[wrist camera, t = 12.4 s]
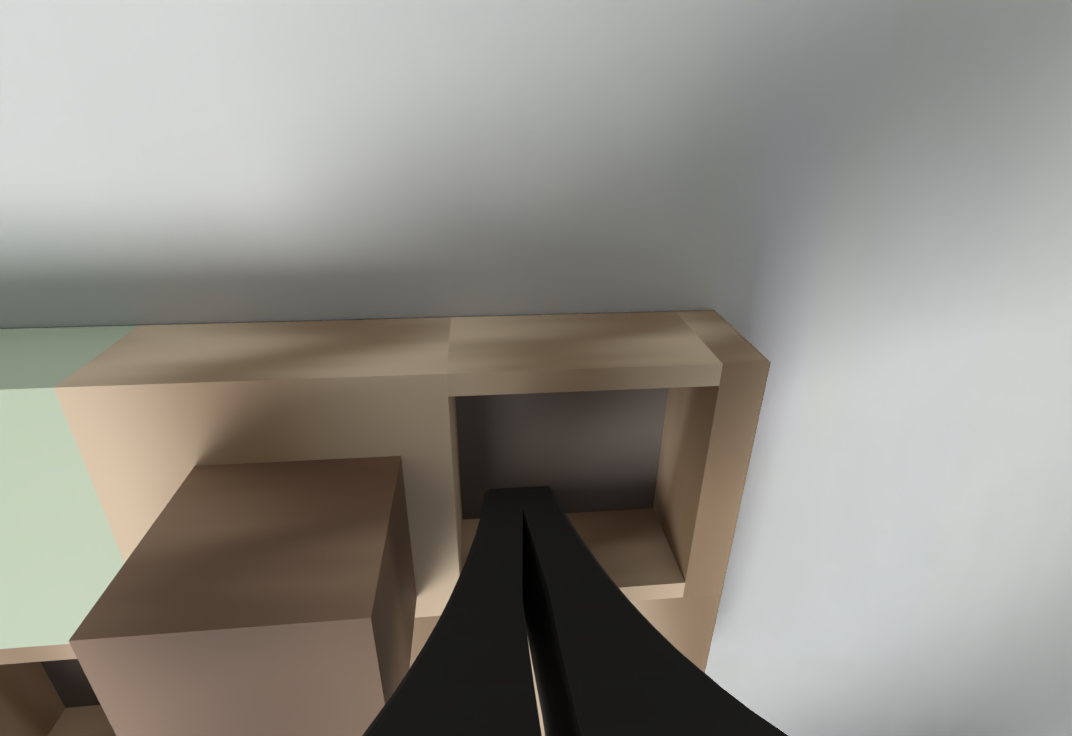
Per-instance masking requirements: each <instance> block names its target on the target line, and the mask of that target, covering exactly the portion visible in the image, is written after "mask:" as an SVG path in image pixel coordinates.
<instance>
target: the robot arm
mask: <svg viewBox="0 0 1072 736" xmlns="http://www.w3.org/2000/svg"><path fill="white" fill-rule="evenodd" d="M528 643H529V645H528ZM529 648H530V652H529ZM530 653H531V659H532V664H533V669H534V675H535V680H536V686H537V691H538V696H539V702H540V707H541V712H542V718H543V725H544V732H545V736H788V735H786V734H785V733H783V732H782V731H780V730H779V729H778V728H776V727H775V726H773V725H772V724H770V723H769V722H767V721H766V720H764V719H763V718H761V717H760V716H758V715H757V714H755V713H754V712H753V711H751V710H750V709H749V708H747V707H746V706H745V705H743V704H742V703H741V702H739V701H738V700H737V699H736V698H734V697H733V696H732V695H730V694H729V693H728V692H727V691H725V690H724V689H723V688H721V687H720V686H719V685H718V684H717V683H716V682H714V681H713V680H712V679H711V678H710V677H709V676H707V675H706V674H705V673H704V672H703V671H702V670H701V669H699V668H698V667H697V666H696V665H695V664H694V663H692V662H691V661H690V660H689V659H688V658H687V657H685V656H684V655H683V654H682V653H681V652H680V651H679V650H677V649H676V648H675V647H674V646H673V645H672V644H671V643H670V642H669V641H668V640H667V639H666V638H665V637H664V636H663V635H662V634H661V633H660V632H659V631H658V630H657V629H656V628H655V627H654V626H653V625H652V624H651V623H650V622H649V621H648V620H647V619H646V618H645V617H644V616H643V615H642V614H641V613H640V612H639V610H638V609H637V608H636V607H635V606H634V605H633V604H632V603H631V602H630V600H629V599H628V598H627V597H626V596H625V595H624V594H623V592H622V591H621V590H620V589H619V588H618V586H617V585H616V584H615V583H614V581H613V580H612V579H611V578H610V577H609V575H608V574H607V573H606V571H605V570H604V569H603V568H602V566H601V565H600V564H599V562H598V561H597V560H596V558H595V557H594V555H593V554H592V553H591V551H590V550H589V548H588V547H587V546H586V544H585V543H584V541H583V540H582V539H581V537H580V536H579V534H578V533H577V531H576V529H575V528H574V526H573V525H572V523H571V521H570V520H569V518H568V517H567V515H566V513H565V512H564V510H563V508H562V506H561V505H560V503H559V501H558V499H557V497H556V495H555V493H554V491H553V490H552V489H551V488H550V487H549V486H536V487H517V488H498V489H489V490H487V491H486V492H485V493H484V499H483V507H482V512H481V517H480V520H479V524H478V527H477V531H476V534H475V537H474V540H473V543H472V546H471V548H470V551H469V554H468V557H467V559H466V562H465V564H464V567H463V569H462V572H461V574H460V576H459V578H458V580H457V583H456V585H455V587H454V589H453V592H452V594H451V596H450V598H449V600H448V602H447V604H446V606H445V608H444V610H443V612H442V614H441V616H440V618H439V620H438V622H437V624H436V625H435V627H434V629H433V631H432V633H431V634H430V636H429V638H428V640H427V641H426V643H425V645H424V646H423V648H422V650H421V651H420V653H419V655H418V656H417V658H416V659H415V661H414V663H413V664H412V666H411V667H410V669H409V671H408V672H407V674H406V675H405V677H404V678H403V680H402V681H401V683H400V684H399V686H398V687H397V689H396V690H395V692H394V693H393V694H392V696H391V697H390V699H389V700H388V701H387V703H386V704H385V705H384V707H383V708H382V709H381V711H380V712H379V714H378V715H377V716H376V718H375V719H374V720H373V722H372V723H371V724H370V726H369V727H368V728H367V730H366V731H365V733H364V734H363V735H362V736H542V734H541V728H540V721H539V715H538V708H537V701H536V695H535V688H534V681H533V674H532V667H531V659H530Z"/></svg>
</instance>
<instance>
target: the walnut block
mask: <svg viewBox="0 0 1072 736" xmlns="http://www.w3.org/2000/svg"><path fill="white" fill-rule="evenodd" d="M416 600H417V594H416V586H415V577H414V568H413V559H412V550H411V541H410V532H409V523H408V514H407V505H406V496H405V487H404V478H403V470H402V461H401V456H386V457H365V458H345V459H325V460H305V461H285V462H265V463H245V464H224V465H204V466H194V468H193V469H192V470H191V472H190V473H189V475H188V476H187V477H186V479H185V480H184V481H183V483H182V484H181V486H180V487H179V488H178V490H177V491H176V493H175V494H174V495H173V497H172V498H171V499H170V501H169V502H168V504H167V505H166V506H165V508H164V509H163V511H162V512H161V513H160V515H159V516H158V518H157V519H156V520H155V522H154V523H153V524H152V526H151V527H150V529H149V530H148V531H147V533H146V534H145V536H144V537H143V538H142V540H141V541H140V542H139V544H138V545H137V547H136V548H135V549H134V551H133V552H132V554H131V555H130V556H129V558H128V559H127V560H126V562H125V563H124V565H123V566H122V567H121V569H120V570H119V572H118V573H117V574H116V576H115V577H114V578H113V580H112V581H111V583H110V584H109V585H108V587H107V588H106V590H105V591H104V592H103V594H102V595H101V597H100V598H99V599H98V601H97V602H96V603H95V605H94V606H93V608H92V609H91V610H90V612H89V613H88V615H87V616H86V617H85V619H84V620H83V621H82V623H81V624H80V626H79V627H78V628H77V630H76V631H75V633H74V634H73V635H72V637H71V638H70V639H69V643H70V645H71V647H72V649H73V651H74V653H75V655H76V657H77V659H78V661H79V663H80V665H81V667H82V669H83V671H84V673H85V675H86V677H87V679H88V681H89V683H90V685H91V687H92V689H93V691H94V693H95V694H96V696H97V698H98V700H99V702H100V704H101V706H102V708H103V710H104V712H105V714H106V716H107V718H108V720H109V722H110V724H111V726H112V728H113V730H114V732H115V734H116V736H362V735H363V734H364V733H365V731H366V730H367V728H368V727H369V726H370V724H371V723H372V722H373V720H374V719H375V718H376V716H377V715H378V714H379V712H380V711H381V709H382V708H383V707H384V705H385V704H386V703H387V701H388V700H389V699H390V697H391V696H392V694H393V693H394V692H395V690H396V689H397V687H398V686H399V684H400V683H401V681H402V680H403V678H404V677H405V675H406V674H407V672H408V671H409V668H410V658H411V648H412V639H413V629H414V620H415V610H416Z"/></svg>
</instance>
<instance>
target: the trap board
mask: <svg viewBox="0 0 1072 736" xmlns="http://www.w3.org/2000/svg"><path fill="white" fill-rule="evenodd" d="M769 367H770V361H769V360H767V359H766V358H765V357H764V356H763V355H762V354H761V353H760V352H759V351H758V350H757V349H756V348H755V347H753V346H752V345H751V344H750V343H749V342H748V341H747V340H746V339H745V338H744V337H743V336H742V335H740V334H739V333H738V332H737V331H736V330H735V329H734V328H733V327H732V326H731V325H730V324H729V323H727V322H726V321H725V320H724V319H723V318H722V317H721V316H720V315H719V314H718V313H717V312H716V311H715V310H709V311H671V312H632V313H594V314H556V315H518V316H479V317H441V318H403V319H365V320H326V321H288V322H250V323H212V324H173V325H139V326H138V327H136V328H135V329H134V330H132V331H131V332H129V333H128V334H127V335H125V336H124V337H123V338H121V339H120V340H118V341H117V342H116V343H114V344H113V345H112V346H110V347H109V348H108V349H106V350H105V351H103V352H102V353H101V354H99V355H98V356H97V357H95V358H94V359H92V360H91V361H90V362H88V363H87V364H86V365H84V366H83V367H81V368H80V369H79V370H77V371H76V372H75V373H73V374H72V375H70V376H69V377H68V378H66V379H65V380H64V381H62V382H61V383H59V384H58V385H57V386H55V387H54V390H55V392H56V395H57V397H58V400H59V402H60V405H61V407H62V410H63V412H64V414H65V417H66V419H67V422H68V424H69V427H70V429H71V432H72V434H73V437H74V439H75V442H76V444H77V446H78V449H79V451H80V454H81V456H82V459H83V461H84V464H85V466H86V469H87V471H88V474H89V476H90V478H91V481H92V483H93V486H94V488H95V491H96V493H97V496H98V498H99V501H100V503H101V506H102V508H103V510H104V513H105V515H106V518H107V520H108V523H109V525H110V528H111V530H112V533H113V535H114V538H115V540H116V542H117V545H118V547H119V550H120V552H121V555H122V557H123V560H124V562H126V560H127V559H128V558H129V556H130V555H131V554H132V552H133V551H134V549H135V548H136V547H137V545H138V544H139V542H140V541H141V540H142V538H143V537H144V536H145V534H146V533H147V531H148V530H149V529H150V527H151V526H152V524H153V523H154V522H155V520H156V519H157V518H158V516H159V515H160V513H161V512H162V511H163V509H164V508H165V506H166V505H167V504H168V502H169V501H170V499H171V498H172V497H173V495H174V494H175V493H176V491H177V490H178V488H179V487H180V486H181V484H182V483H183V481H184V480H185V479H186V477H187V476H188V475H189V473H190V472H191V470H192V469H193V468H194V466H204V465H224V464H245V463H265V462H285V461H305V460H325V459H345V458H365V457H386V456H401V461H402V470H403V478H404V487H405V496H406V505H407V514H408V523H409V532H410V541H411V550H412V559H413V568H414V577H415V586H416V594H417V600H416V610H415V620H414V629H413V639H412V648H411V658H410V667H411V666H412V664H413V663H414V661H415V659H416V658H417V656H418V655H419V653H420V651H421V650H422V648H423V646H424V645H425V643H426V641H427V640H428V638H429V636H430V634H431V633H432V631H433V629H434V627H435V625H436V624H437V622H438V620H439V618H440V616H441V614H442V612H443V610H444V608H445V606H446V604H447V602H448V600H449V598H450V596H451V594H452V592H453V589H454V587H455V585H456V583H457V580H458V578H459V576H460V574H461V572H462V569H463V567H464V564H465V562H466V559H467V557H468V554H469V551H470V548H471V546H472V543H473V540H474V537H475V534H476V531H477V527H478V524H479V520H480V517H481V512H482V507H483V499H484V493H485V492H486V491H487V490H489V489H498V488H517V487H536V486H549V487H550V488H551V489H552V490H553V491H554V493H555V495H556V497H557V499H558V501H559V503H560V505H561V506H562V508H563V510H564V512H565V513H566V515H567V517H568V518H569V520H570V521H571V523H572V525H573V526H574V528H575V529H576V531H577V533H578V534H579V536H580V537H581V539H582V540H583V541H584V543H585V544H586V546H587V547H588V548H589V550H590V551H591V553H592V554H593V555H594V557H595V558H596V560H597V561H598V562H599V564H600V565H601V566H602V568H603V569H604V570H605V571H606V573H607V574H608V575H609V577H610V578H611V579H612V580H613V581H614V583H615V584H616V585H617V586H618V588H619V589H620V590H621V591H622V592H623V594H624V595H625V596H626V597H627V598H628V599H629V600H630V602H631V603H632V604H633V605H634V606H635V607H636V608H637V609H638V610H639V612H640V613H641V614H642V615H643V616H644V617H645V618H646V619H647V620H648V621H649V622H650V623H651V624H652V625H653V626H654V627H655V628H656V629H657V630H658V631H659V632H660V633H661V634H662V635H663V636H664V637H665V638H666V639H667V640H668V641H669V642H670V643H671V644H672V645H673V646H674V647H675V648H676V649H677V650H679V651H680V652H681V653H682V654H683V655H684V656H685V657H687V658H688V659H689V660H690V661H691V662H692V663H694V664H695V665H696V666H697V667H698V668H699V669H701V670H702V671H703V672H704V673H705V669H706V664H707V659H708V654H709V650H710V645H711V640H712V636H713V631H714V626H715V621H716V617H717V612H718V607H719V603H720V598H721V593H722V588H723V584H724V579H725V574H726V570H727V565H728V560H729V555H730V551H731V546H732V541H733V537H734V532H735V527H736V522H737V518H738V513H739V508H740V504H741V499H742V494H743V489H744V485H745V480H746V475H747V470H748V466H749V461H750V456H751V452H752V447H753V442H754V437H755V433H756V428H757V423H758V419H759V414H760V409H761V404H762V400H763V395H764V390H765V386H766V381H767V376H768V371H769ZM528 645H529V643H528ZM529 652H530V648H529ZM530 659H531V653H530ZM531 667H532V674H533V681H534V688H535V695H536V701H537V708H538V715H539V721H540V728H541V734H542V736H545V732H544V725H543V718H542V712H541V707H540V702H539V696H538V691H537V686H536V680H535V675H534V669H533V664H532V659H531ZM409 669H410V668H409ZM0 736H116V734H115V732H114V730H113V728H112V726H111V724H110V722H109V720H108V718H107V716H106V714H105V712H104V710H103V708H102V706H101V704H100V702H99V700H98V698H97V696H96V694H95V693H94V691H93V689H92V687H91V685H90V683H89V681H88V679H87V677H86V675H85V673H84V671H83V669H82V667H81V665H80V663H79V661H78V659H77V657H76V655H75V653H74V651H73V649H72V647H71V645H70V644H61V645H48V646H34V647H21V648H8V649H0Z"/></svg>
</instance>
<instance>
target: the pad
mask: <svg viewBox="0 0 1072 736" xmlns="http://www.w3.org/2000/svg"><path fill="white" fill-rule="evenodd" d="M138 326H139V325H135V326H97V327H58V328H20V329H0V649H8V648H21V647H34V646H48V645H61V644H70V643H69V639H70V638H71V637H72V635H73V634H74V633H75V631H76V630H77V628H78V627H79V626H80V624H81V623H82V621H83V620H84V619H85V617H86V616H87V615H88V613H89V612H90V610H91V609H92V608H93V606H94V605H95V603H96V602H97V601H98V599H99V598H100V597H101V595H102V594H103V592H104V591H105V590H106V588H107V587H108V585H109V584H110V583H111V581H112V580H113V578H114V577H115V576H116V574H117V573H118V572H119V570H120V569H121V567H122V566H123V565H124V563H125V562H124V560H123V557H122V555H121V552H120V550H119V547H118V545H117V542H116V540H115V538H114V535H113V533H112V530H111V528H110V525H109V523H108V520H107V518H106V515H105V513H104V510H103V508H102V506H101V503H100V501H99V498H98V496H97V493H96V491H95V488H94V486H93V483H92V481H91V478H90V476H89V474H88V471H87V469H86V466H85V464H84V461H83V459H82V456H81V454H80V451H79V449H78V446H77V444H76V442H75V439H74V437H73V434H72V432H71V429H70V427H69V424H68V422H67V419H66V417H65V414H64V412H63V410H62V407H61V405H60V402H59V400H58V397H57V395H56V392H55V390H54V387H55V386H57V385H58V384H59V383H61V382H62V381H64V380H65V379H66V378H68V377H69V376H70V375H72V374H73V373H75V372H76V371H77V370H79V369H80V368H81V367H83V366H84V365H86V364H87V363H88V362H90V361H91V360H92V359H94V358H95V357H97V356H98V355H99V354H101V353H102V352H103V351H105V350H106V349H108V348H109V347H110V346H112V345H113V344H114V343H116V342H117V341H118V340H120V339H121V338H123V337H124V336H125V335H127V334H128V333H129V332H131V331H132V330H134V329H135V328H136V327H138Z"/></svg>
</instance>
